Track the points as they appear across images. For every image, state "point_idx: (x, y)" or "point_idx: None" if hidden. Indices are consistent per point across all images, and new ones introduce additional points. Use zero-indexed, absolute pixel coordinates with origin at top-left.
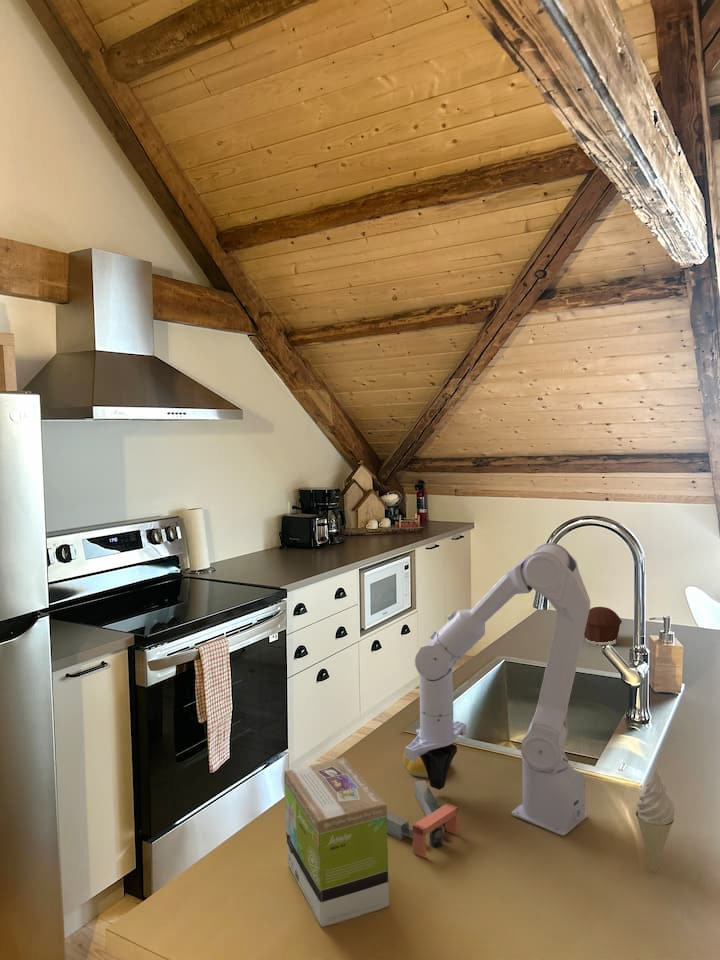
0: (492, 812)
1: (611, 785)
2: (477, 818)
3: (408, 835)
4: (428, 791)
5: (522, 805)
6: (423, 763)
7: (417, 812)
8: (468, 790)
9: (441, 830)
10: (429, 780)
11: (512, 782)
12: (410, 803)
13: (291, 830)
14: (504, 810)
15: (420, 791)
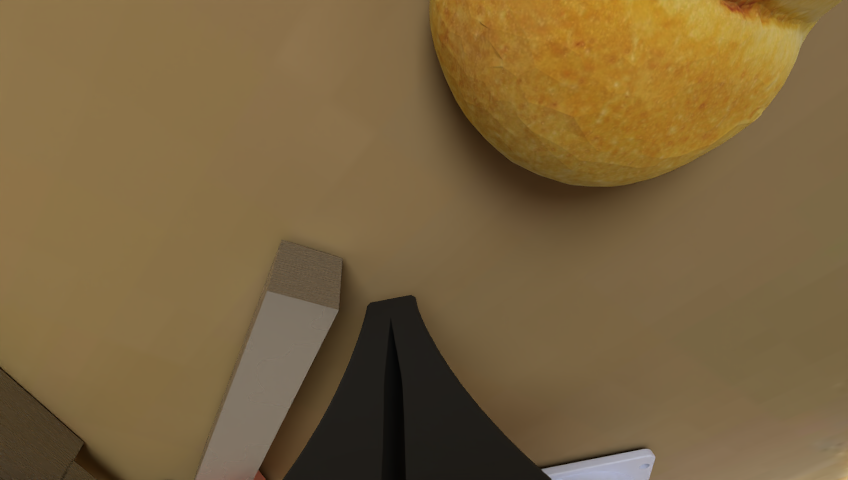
0: None
1: (830, 469)
2: None
3: (79, 445)
4: (279, 397)
5: (559, 477)
6: (512, 129)
7: (205, 352)
8: (538, 327)
9: None
10: (363, 326)
11: (711, 360)
12: (211, 285)
13: None
14: None
15: (234, 384)
